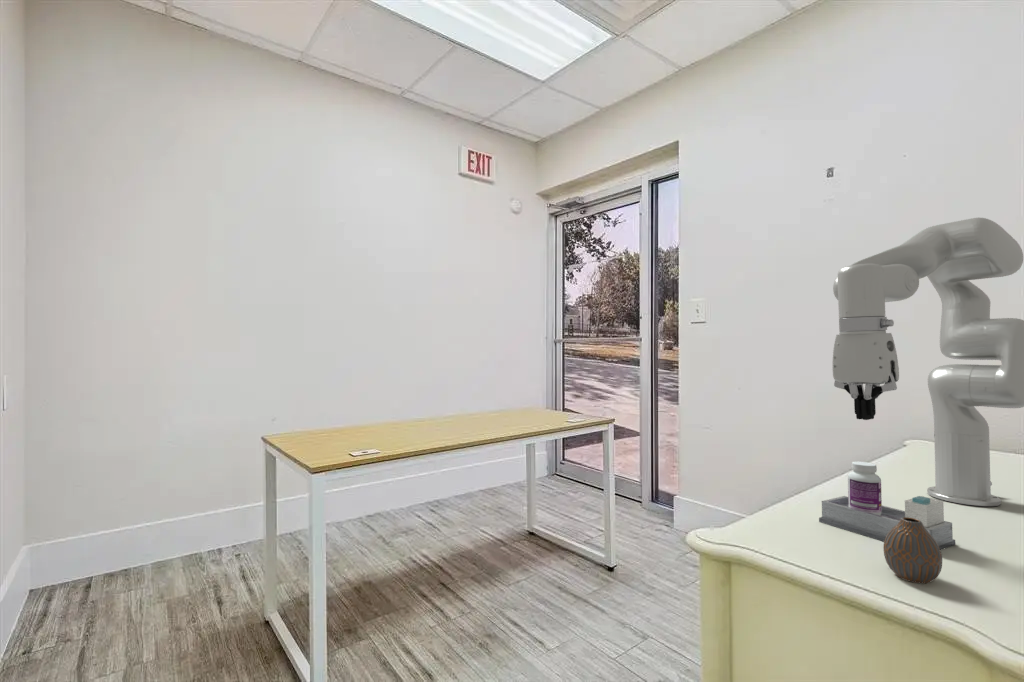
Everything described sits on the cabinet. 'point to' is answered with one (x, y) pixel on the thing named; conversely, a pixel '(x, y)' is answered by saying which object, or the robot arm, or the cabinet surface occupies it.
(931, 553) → the vase
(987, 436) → the robot arm
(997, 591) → the cabinet surface
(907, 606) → the cabinet surface
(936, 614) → the cabinet surface
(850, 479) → the pill bottle
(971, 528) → the cabinet surface
